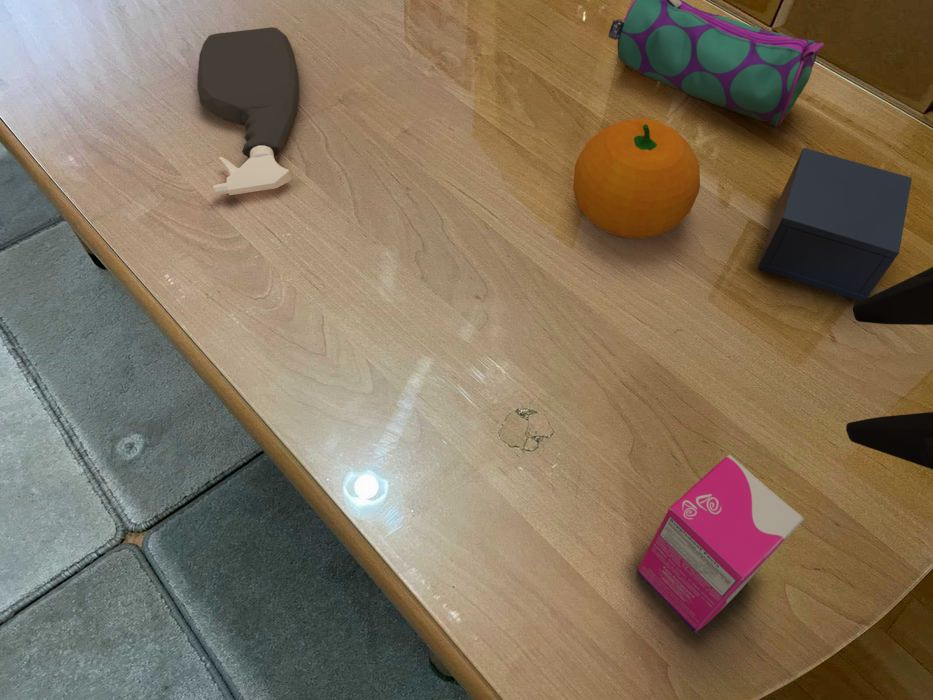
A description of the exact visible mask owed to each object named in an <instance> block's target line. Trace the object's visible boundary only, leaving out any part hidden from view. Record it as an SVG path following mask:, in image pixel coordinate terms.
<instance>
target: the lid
mask: <svg viewBox="0 0 933 700" xmlns="http://www.w3.org/2000/svg"><path fill="white" fill-rule="evenodd" d="M798 159H799V161H798V160H797V161H798V164H797V167H796V171H795V174H794V177H793V181H792V184H791V187H790V191H789V194H788V197H787V201H786V204H785V207H784V211H783V214H782V217H781V221H780V224H782V225H786V226H789V227H792V228H795V229H799V230H802V231H805V232H808V233H812V234H815V235H818V236H822V237H825V238H828V239H831V240H835V241H838V242H841V243H844V244H848V245H851V246H854V247H858V248H861V249H864V250H867V251H871V252H874V253H877V254H880V255H884V256H887V257H890V258H894V259H895V260H896V258H897V257H898V255H899V254H900V250H901V244H902V238H903V235H904V234H903V233H904V227H905V221H906V214H907V209H908V203H909V198H910V192H911V185H912V181H913V178H912V177H910V176H907V175H903V174H900V173H897V172H893V171H889V170H885V169H882V168H878V167H875V166H871V165H868V164H864V163H861V162H857V161H854V160H850V159H846V158H842V157H839V156H836V155H832V154H830V153H829V154H828V153H825V152H822V151H817V150H814V149H811V148H807V147H803V148H802V150H801V152H800V154H799V157H798Z"/></svg>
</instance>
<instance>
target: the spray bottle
mask: <svg viewBox="0 0 933 700" xmlns="http://www.w3.org/2000/svg"><path fill="white" fill-rule="evenodd" d="M196 87H197V89H196V90H197V93H198V97H199V101H200V103H201V104H202V106H204V108H205V110H206V111H207V112H209V113H211V114H212V115H214V116H216V117H218V118H220V119H222V120H223V121H226V122H230V123H233V124H236V125H241V126H244V130H245V132H246V133H245V134H244V140H245V143H244V145H243V147H242V149H241V153H242V154H243V156H245V157H247V158H248V159H247V160H246V161H245V162H244V163H243V164H241V166H240V167H237V166H235V164H233V163H232V162H230V161H229V160H228V159H226V158H224V157H222V156H219V157H218V161H219V162H220V164H221V165H222V166H223V167H224V168H225V169H226V171H227V172H228V173H229V175H228V176H227V177H226V182H222V183H217V184H214V185H212V186H213V191H214V194H215V196H218V195H219V196H220V195H227V194H228V195H229V196H233V195H240V194H246V193H253V192H259V191H266V190H273V189H277V188H278V189H279V187H281V186H283V185H285V184H287V183H289V182H291V181H292V177H291V173H290V170H289V169H288V168H286V167H283V166H281V165H280V164H279V163H278V162H277V161H276V159H275V157H277V156H279V155H280V154H281V152H282V150H283V148H284V145H285V143H286V141H287V139H288V136H289V134H290V132H291V129H292V127H293V125H294V122H295V119H296V116H297V112H298V107H299V101H300V100H299V99H300V77H299V71H298V66H297V61H296V56H295V52H294V50H293V47H292V45H291V42H290V40H289V38H288V36H287V35H286V34H285V33H284V32H283V31H281V30H280V29H278V27H274V26H270V27H263V28H261V27H260V28H254V29H253V28H251V29H244V30H236V31H227V32H219V33H213V34H209V35H208V36H207V37H206V39H205V41H204V42H203V43H202V46H201V49H200V52H199V58H198V68H197V86H196Z"/></svg>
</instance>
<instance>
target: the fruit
mask: <svg viewBox="0 0 933 700" xmlns="http://www.w3.org/2000/svg"><path fill="white" fill-rule="evenodd" d="M696 156H697V155H696V154H695V152H694V150H693V148H692V147H691V145H690V143H689V142H688V141H687V140H686V138H684V137H683V135H681V134H680V133H679V132H678V131H677V130H676V129H674V128H672V127H671V126H669V125H666V124H665V123H663V122H661V121H657V120H654V119H650V118H649V119H648V118H630V119H625V120H621V121H619V122H618V121H617V122H615V123H613V124H610V125H608V126H605V127H604V128H603V129H601V130H600V131H599V132H597V133H596V134H595V135H594V136H592V137H591V138H590V139H589V140H588V141H586V143H585V145H584V146H583V149H582V150H581V152H580V153H579V155H578V157H577V159H576V160H575V161H576V162H575V164H574V171H573V181H572V183H573V185H572V189H573V193H574V197H575V199H576V202H577V205H578V207H579V209H580V211H581V213H583V214H584V215H585V217H586V218H587V219H588V220H589V221H590V223H592V224H593V225H595V226H597V227H598V228H600V229H601V230H603V231H604V232H605V233H608V234H612V235H614V236H618V237H620V238H627V239H645V238H651V237H658V236H660V235H662V234H664V233H667V232H669V231H671V230H673V229H674V228H675V227H677V226H678V225H679V224H680V223H681V222H682V221H683V220H685V218H687V216H688V215H689V214H690V212H691V210H692V209H693V206H694V204H695V203H696V199H697V198H698V195H699V193H700V188H701V175H700V173H701V171H700V164H699V161H698V158H697V157H696Z"/></svg>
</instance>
